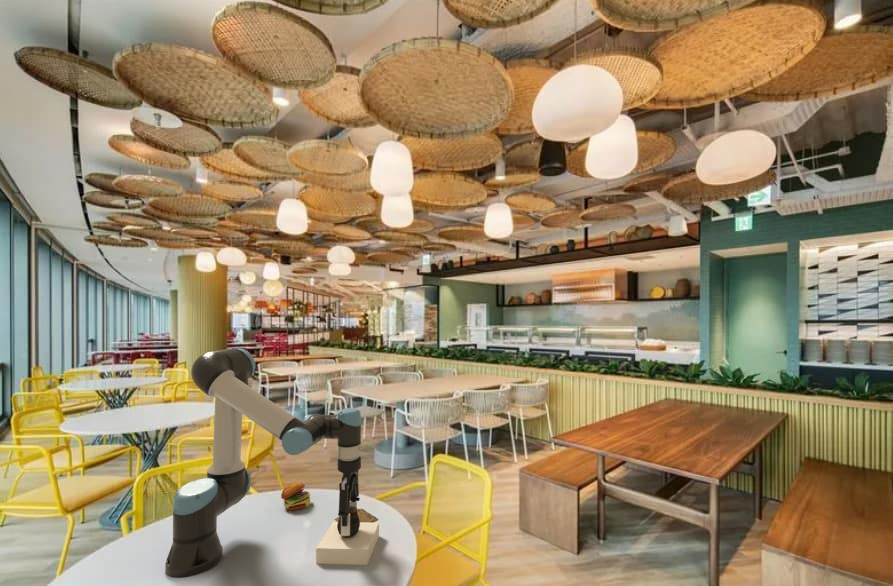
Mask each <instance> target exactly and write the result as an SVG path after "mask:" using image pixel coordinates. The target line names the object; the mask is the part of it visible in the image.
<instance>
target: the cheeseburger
mask: <svg viewBox="0 0 893 586" xmlns="http://www.w3.org/2000/svg"><path fill="white" fill-rule="evenodd" d="M305 487H306V485H305V484H304V483H303V482H301V481H300V482H295V483H292V484H289V485H287V486H285V487H284V488H283V490H282V491H281V493H280V495H281V496H280V497H281V499H282V500H283V505H284V507H285V509H287V510H288V511H298V510H301V509H306V508H308V507H310V505H311V493H310V492H309V491H308V490H305Z"/></svg>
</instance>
